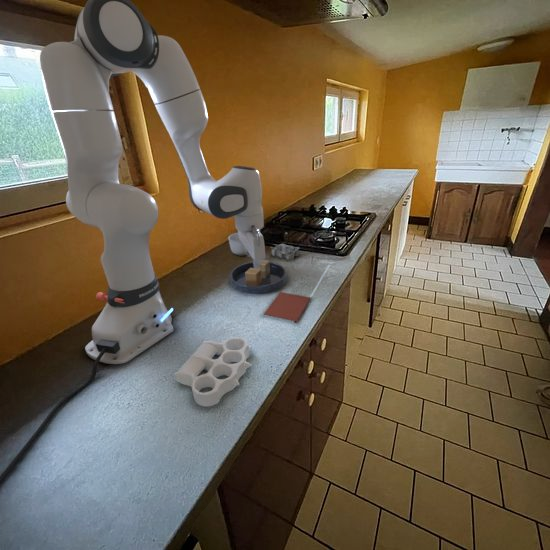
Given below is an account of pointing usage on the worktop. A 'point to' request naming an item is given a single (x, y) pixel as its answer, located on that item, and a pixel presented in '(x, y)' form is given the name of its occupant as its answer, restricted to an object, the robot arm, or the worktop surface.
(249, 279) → the block
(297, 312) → the mat
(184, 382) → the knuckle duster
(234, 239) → the teacup
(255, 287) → the pan
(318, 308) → the worktop surface
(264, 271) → the block
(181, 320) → the worktop surface
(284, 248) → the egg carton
